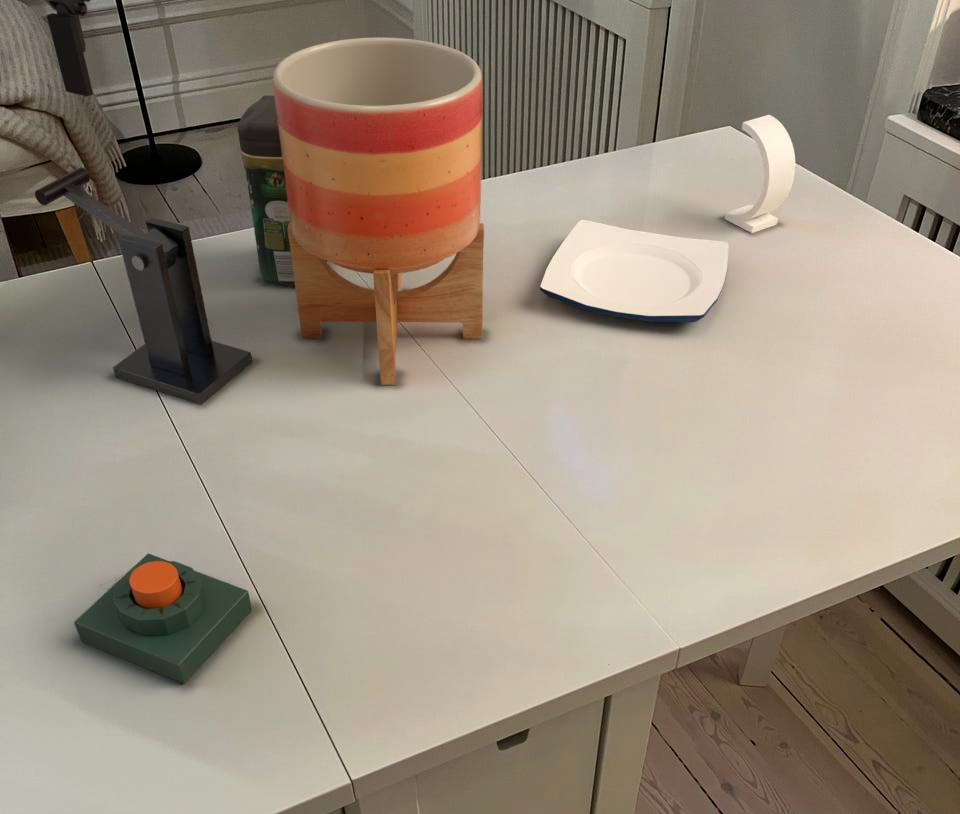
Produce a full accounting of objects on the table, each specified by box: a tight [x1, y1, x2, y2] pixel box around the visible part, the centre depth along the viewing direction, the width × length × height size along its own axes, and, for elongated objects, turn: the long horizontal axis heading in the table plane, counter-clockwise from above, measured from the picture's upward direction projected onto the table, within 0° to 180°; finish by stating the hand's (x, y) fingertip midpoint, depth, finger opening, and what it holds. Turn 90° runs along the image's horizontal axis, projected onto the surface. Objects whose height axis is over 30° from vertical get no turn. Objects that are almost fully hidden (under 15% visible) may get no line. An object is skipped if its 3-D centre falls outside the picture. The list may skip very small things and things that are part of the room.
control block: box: [73, 553, 253, 685], centre depth 80 cm, size 10×9×4 cm
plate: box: [539, 219, 730, 323], centre depth 120 cm, size 20×20×3 cm
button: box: [129, 561, 182, 609], centre depth 78 cm, size 4×4×2 cm
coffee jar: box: [237, 94, 328, 286], centre depth 116 cm, size 10×8×19 cm
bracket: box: [112, 217, 254, 405], centre depth 102 cm, size 11×9×15 cm
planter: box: [272, 37, 485, 386], centre depth 102 cm, size 20×20×27 cm
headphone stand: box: [724, 114, 796, 234], centre depth 128 cm, size 5×6×12 cm
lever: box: [34, 166, 178, 268], centre depth 97 cm, size 13×6×2 cm, turn 64°
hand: (29, 116), depth 94 cm, fingers open, 13 cm apart
